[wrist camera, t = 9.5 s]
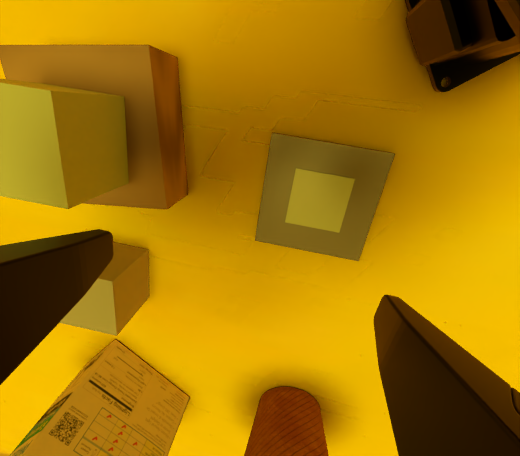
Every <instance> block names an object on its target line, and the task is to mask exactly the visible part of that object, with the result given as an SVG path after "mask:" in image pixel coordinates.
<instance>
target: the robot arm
mask: <svg viewBox="0 0 520 456" xmlns="http://www.w3.org/2000/svg"><path fill="white" fill-rule="evenodd" d="M405 2H406V5H407V8H408V11H409V13H408V15H407V18H406V23H407V26H408V29H409V32H410V35H411V38H412V41H413V44H414V47H415V50H416V53H417V56H418V59H419V62H420V64H422V65H425V66H427V69H428V72H429V75H430V79H431V82H432V85H433V88H434V89H435V91H437V92H446V91H449V90H451V89H453V88H455V87H457V86H459V85H461V84H463V83H465V82H466V81H468V80H470V79H472V78H474V77H476V76H478V75H480V74H482V73H484V72H486V71H488V70H490V69H491V68H493V67H495V66H497V65H499V64H501V63H503V62H505V61H507V60H509V59H511V58H513V57H515V56H517V55H518V54H520V0H405ZM444 78H446V79H447V85H446V86H445V87H442V85H441V81H442V79H444ZM113 255H114V251H113V236H112V234H111V233H110V232H109V231H104V230H100V229H97V230H91V231H85V232H79V233H73V234H67V235H61V236H55V237H49V238H43V239H37V240H31V241H25V242H19V243H13V244H7V245H1V246H0V385H1V384H2V383H3V382H4V381H5V380H6V378H7V377H8V376H9V375H10V374H11V373H12V372H13V371H14V370H15V369H16V368H17V367H18V366H19V365H20V364H21V363H22V361H23V360H24V359H25V358H26V357H27V356H28V355H29V354H30V353H31V352H32V351H33V350H34V349H35V348H36V347H37V346H38V345H39V343H40V342H41V341H42V340H43V339H44V338H45V337H46V336H47V335H48V334H49V333H50V332H51V331H52V330H53V329H54V328H55V327H56V325H57V324H58V323H59V322H60V321H61V320H62V319H63V318H64V317H65V316H66V315H67V314H68V313H69V312H70V311H71V310H72V308H73V307H74V306H75V305H76V304H77V303H78V302H79V301H80V300H81V299H82V298H83V297H84V295H85V294H86V293H87V292H88V291H89V289H90V288H91V287H92V285H93V284H94V283H95V281H96V280H97V279H98V278H99V276H100V275H101V274H102V272H103V271H104V270H105V268H106V267H107V266H108V265H109V263H110V262H111V260H112V258H113ZM374 330H375V339H376V348H377V357H378V365H379V371H380V376H381V380H382V384H383V389H384V393H385V397H386V402H387V406H388V411H389V415H390V419H391V424H392V428H393V433H394V437H395V441H396V446H397V450H398V455H399V456H520V393H519V392H518V391H517V390H516V389H514V388H511V387H510V385H509V384H508V383H507V382H505V381H504V380H503V379H502V378H500V377H499V376H498V375H496V374H495V373H494V372H493V371H491V370H490V369H489V368H488V367H486V366H485V365H484V364H483V363H481V362H480V361H479V360H477V359H476V358H475V357H474V356H472V355H471V354H470V353H469V352H467V351H466V350H465V349H464V348H462V347H461V346H460V345H458V344H457V343H456V342H455V341H453V340H452V339H451V338H450V337H448V336H447V335H446V334H445V333H443V332H442V331H441V330H439V329H438V328H437V327H436V326H434V325H433V324H432V323H431V322H429V321H428V320H427V319H425V318H424V317H423V316H422V315H420V314H419V313H418V312H417V311H415V310H414V309H413V308H412V307H410V306H409V305H408V304H406V303H405V302H404V301H403V300H401V299H400V298H399V297H395V296H391V295H384V296H383V297H382V299H381V301H380V304H379V306H378V308H377V310H376V313H375V315H374Z"/></svg>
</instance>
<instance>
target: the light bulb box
mask: <svg viewBox="0 0 520 456" xmlns="http://www.w3.org/2000/svg"><path fill="white" fill-rule="evenodd" d="M189 399H190V397H189V396H187V395H186V394H185V393H183V392H182V391H181V390H179V389H178V388H177V387H176V386H174V385H173V384H172V383H171V382H169V381H168V380H167V379H165V378H164V377H163V376H162V375H160V374H159V373H158V372H157V371H155V370H154V369H153V368H152V367H150V366H149V365H148V364H146V363H145V362H144V361H143V360H141V359H140V358H139V357H138V356H136V355H135V354H134V353H132V352H131V351H130V350H129V349H127V348H126V347H125V346H124V345H122V344H121V343H120V342H118V341H117V340H114V341H113V342H111V343H110V344H109V345H108V346H107V347H106V348H104V349H103V350H102V351H101V352H100V353H99V354H97V355H96V356H95V357H94V358H93V359H92V360H91V361H89V362H88V363H87V364H86V365H85V366H84V368H83V369H82V370H81V371H80V372H79V373H78V375H77V376H76V377H75V378H74V379H73V381H72V382H71V383H70V384H69V385H68V386H67V388H66V389H65V390H64V391H63V392H62V394H61V395H60V396H59V397H58V398H57V399H56V401H55V402H54V403H53V404H52V405H51V407H50V408H49V409H48V410H47V411H46V413H45V414H44V415H43V416H42V417H41V419H40V420H39V421H38V422H37V423H36V424H35V426H34V427H33V428H32V429H31V430H30V432H29V433H28V434H27V435H26V436H25V438H24V439H23V440H22V441H21V442H20V444H19V445H18V446H17V447H16V448H15V450H14V451H13V452H12V453H11V454H10V456H168V453H169V450H170V448H171V445H172V442H173V440H174V437H175V435H176V432H177V430H178V427H179V425H180V422H181V420H182V417H183V414H184V412H185V409H186V407H187V404H188V402H189Z"/></svg>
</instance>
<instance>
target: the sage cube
mask: <svg viewBox="0 0 520 456" xmlns="http://www.w3.org/2000/svg"><path fill="white" fill-rule="evenodd" d="M128 183H129V179H128V159H127V139H126V120H125V100H124V96H118V95H112V94H106V93H100V92H94V91H88V90H81V89H75V88H69V87H63V86H57V85H51V84H44V83H37V82H27V81H17V80H8V79H0V196H3V197H9V198H14V199H19V200H24V201H29V202H35V203H40V204H45V205H50V206H55V207H60V208H66V209H69V208H72V207H74V206H76V205H79V204H81V203H83V202H86V201H88V200H90V199H93V198H95V197H97V196H100V195H102V194H104V193H107V192H109V191H112V190H114V189H116V188H119V187H121V186H123V185H126V184H128Z"/></svg>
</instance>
